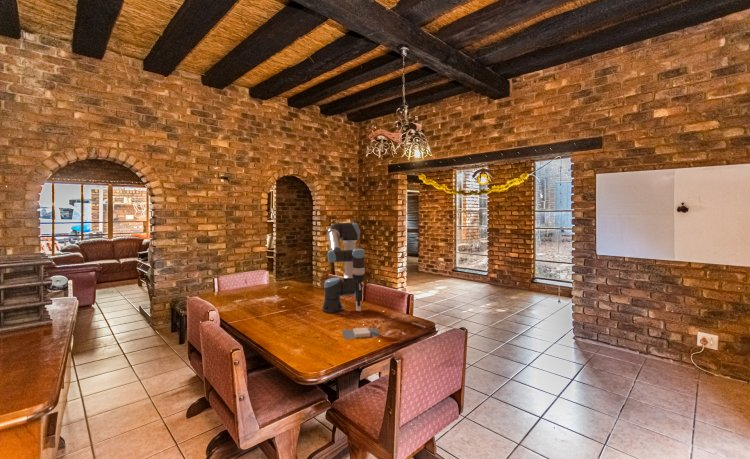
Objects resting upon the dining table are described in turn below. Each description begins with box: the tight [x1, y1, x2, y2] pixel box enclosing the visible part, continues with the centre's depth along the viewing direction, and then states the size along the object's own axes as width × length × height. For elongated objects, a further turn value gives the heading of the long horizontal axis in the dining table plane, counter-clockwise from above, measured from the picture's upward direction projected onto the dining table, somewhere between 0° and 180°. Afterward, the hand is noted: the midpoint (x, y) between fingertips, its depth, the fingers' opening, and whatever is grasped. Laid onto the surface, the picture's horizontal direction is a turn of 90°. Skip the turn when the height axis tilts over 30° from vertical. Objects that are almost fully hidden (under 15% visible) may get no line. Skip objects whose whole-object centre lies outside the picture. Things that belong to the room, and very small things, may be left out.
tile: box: [352, 327, 370, 339], centre depth 201 cm, size 2×9×9 cm
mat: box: [341, 327, 382, 340], centre depth 202 cm, size 14×22×1 cm, turn 102°
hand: (358, 310), depth 211 cm, fingers closed
